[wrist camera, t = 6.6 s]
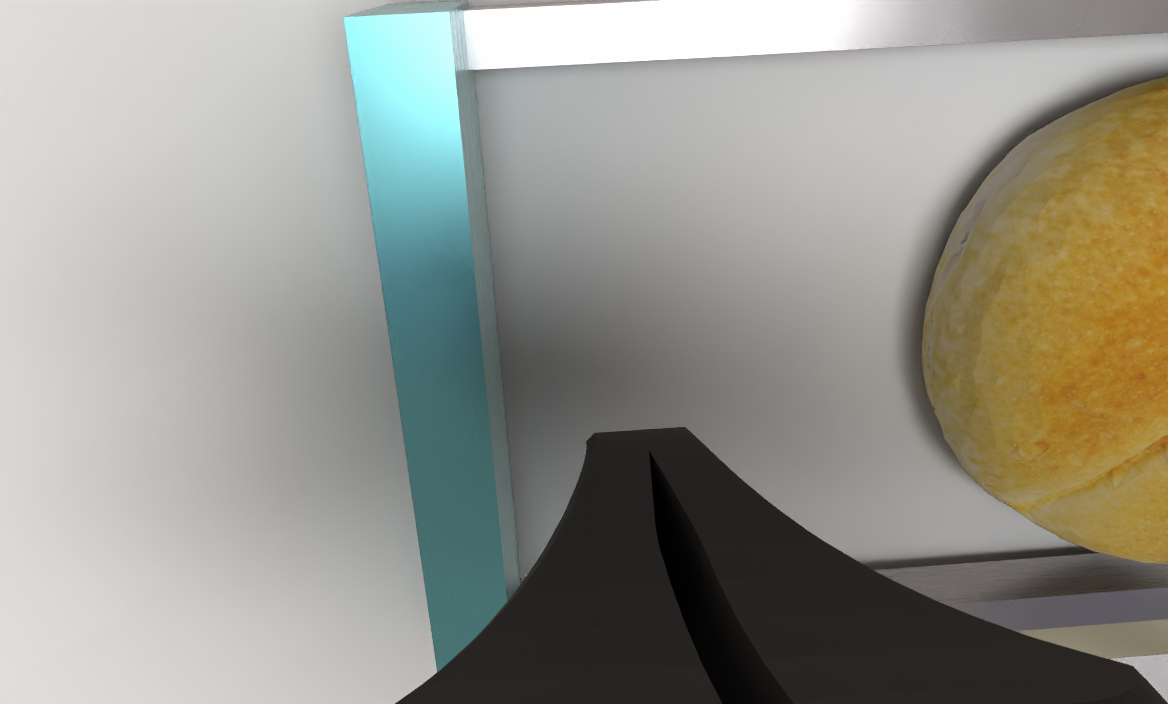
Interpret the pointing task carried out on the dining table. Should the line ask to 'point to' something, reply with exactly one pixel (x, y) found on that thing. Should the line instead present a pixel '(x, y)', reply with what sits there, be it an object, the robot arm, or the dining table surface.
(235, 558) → the dining table surface
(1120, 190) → the bread roll
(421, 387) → the drawer
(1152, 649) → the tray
